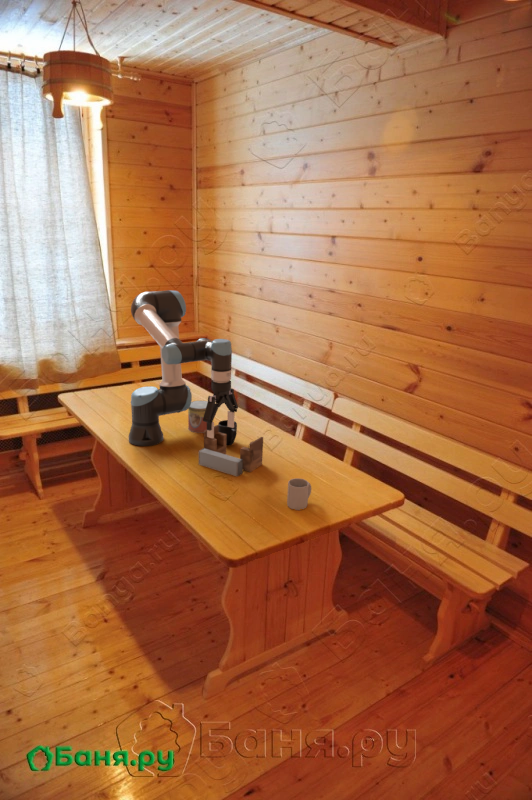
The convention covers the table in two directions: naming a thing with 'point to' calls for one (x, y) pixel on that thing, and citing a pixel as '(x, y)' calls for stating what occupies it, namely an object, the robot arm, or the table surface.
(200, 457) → the rail
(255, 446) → the post foot
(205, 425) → the canned food
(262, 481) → the table surface
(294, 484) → the cup
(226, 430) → the mug
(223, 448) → the post head
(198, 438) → the table surface
